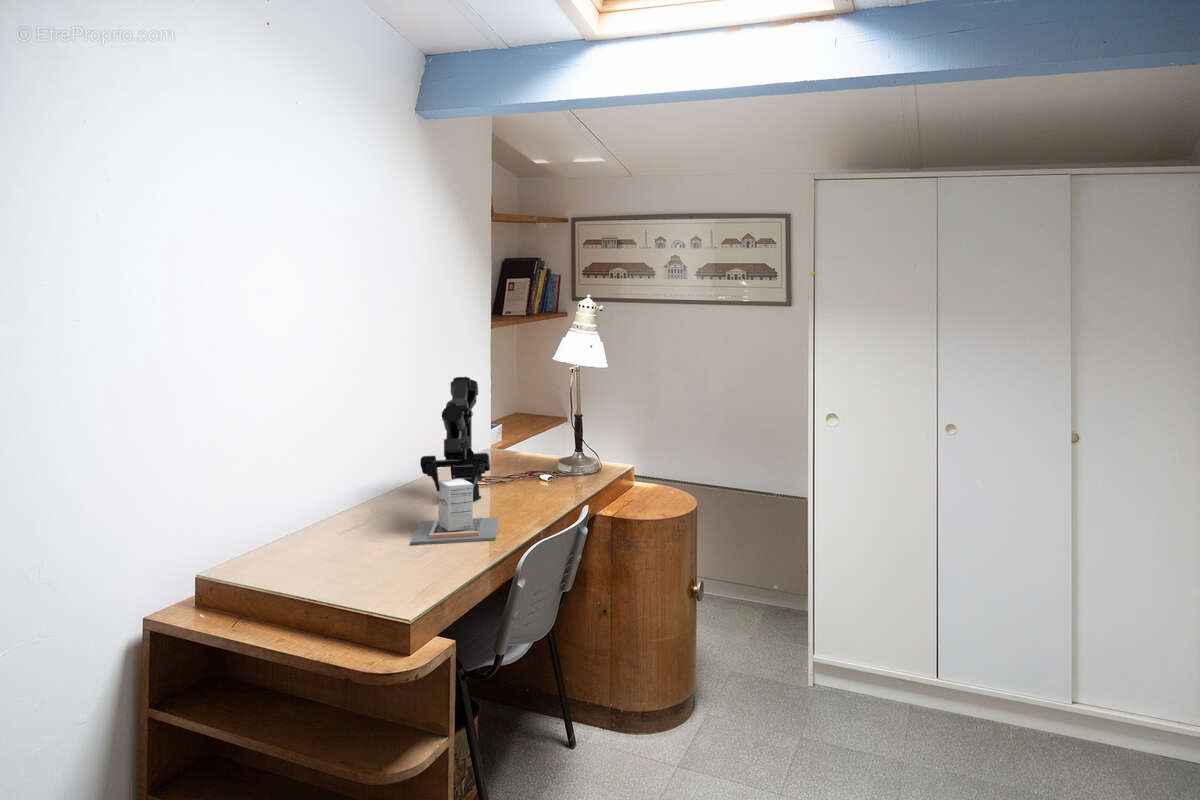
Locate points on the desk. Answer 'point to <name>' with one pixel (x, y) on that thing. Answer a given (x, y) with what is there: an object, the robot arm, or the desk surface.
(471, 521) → the supplement box
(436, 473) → the robot arm
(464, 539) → the rail stand
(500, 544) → the desk surface
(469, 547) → the desk surface
